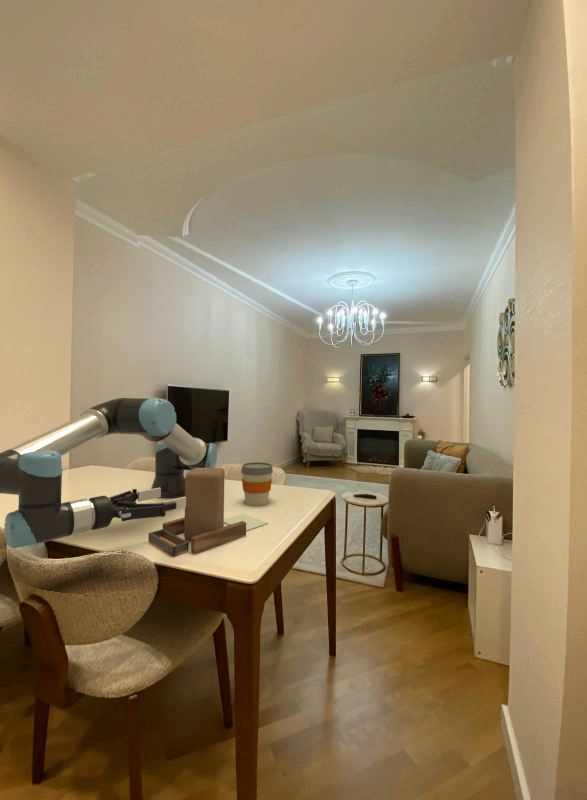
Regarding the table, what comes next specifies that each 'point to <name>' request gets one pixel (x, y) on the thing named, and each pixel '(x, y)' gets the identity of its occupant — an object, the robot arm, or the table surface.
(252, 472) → the reusable coffee cup
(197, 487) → the block
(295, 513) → the table surface
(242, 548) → the table surface
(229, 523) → the pad
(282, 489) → the table surface
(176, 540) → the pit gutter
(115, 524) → the table surface
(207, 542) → the alley
